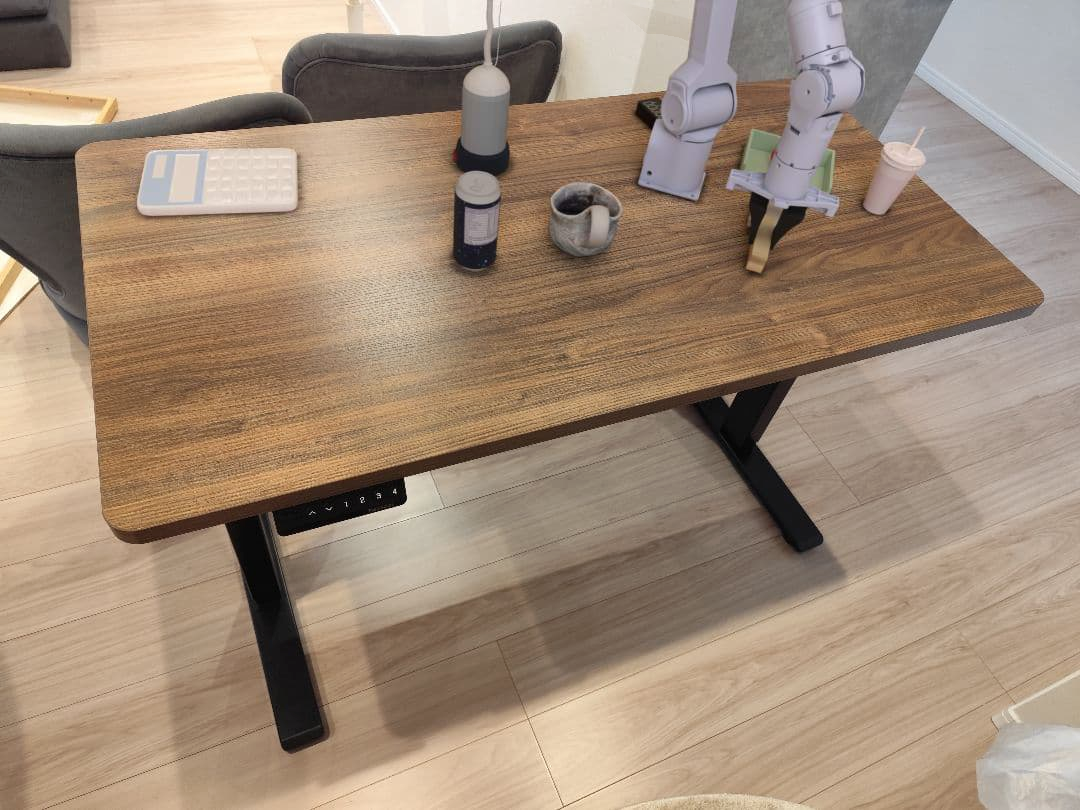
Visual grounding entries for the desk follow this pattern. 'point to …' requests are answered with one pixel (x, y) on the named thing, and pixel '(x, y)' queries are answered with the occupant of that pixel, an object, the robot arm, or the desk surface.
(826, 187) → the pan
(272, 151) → the calculator
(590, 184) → the mug
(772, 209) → the fork
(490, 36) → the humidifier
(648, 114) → the multiport hub
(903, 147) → the smoothie
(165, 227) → the desk surface
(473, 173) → the beverage can
